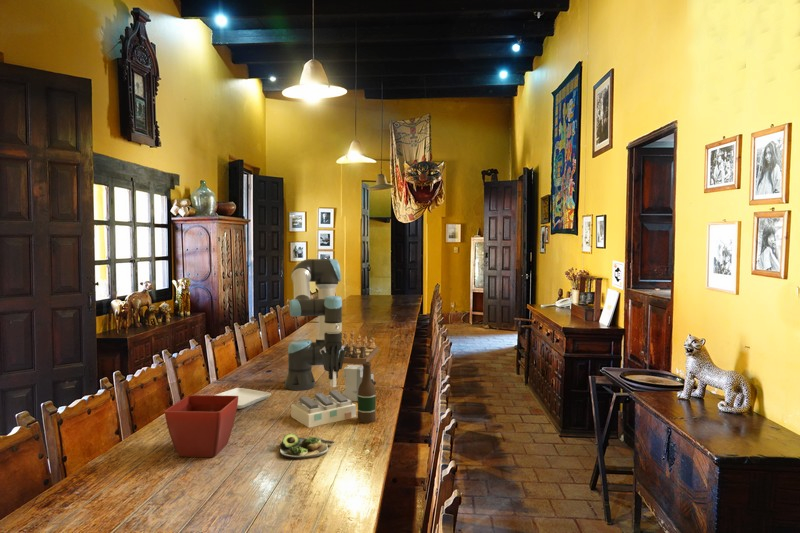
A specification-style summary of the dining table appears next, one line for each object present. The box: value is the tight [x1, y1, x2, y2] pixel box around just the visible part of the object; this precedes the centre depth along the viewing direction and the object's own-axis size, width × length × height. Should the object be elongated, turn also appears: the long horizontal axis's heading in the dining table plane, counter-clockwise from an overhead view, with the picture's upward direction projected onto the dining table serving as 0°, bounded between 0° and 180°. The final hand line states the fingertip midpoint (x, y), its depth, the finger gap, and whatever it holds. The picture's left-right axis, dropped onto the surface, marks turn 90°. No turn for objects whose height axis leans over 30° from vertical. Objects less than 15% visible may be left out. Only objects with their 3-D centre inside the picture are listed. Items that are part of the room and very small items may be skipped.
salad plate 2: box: [279, 433, 336, 460], centre depth 185 cm, size 19×18×5 cm
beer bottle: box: [357, 361, 377, 424], centre depth 215 cm, size 8×8×24 cm
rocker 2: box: [314, 391, 333, 406], centre depth 219 cm, size 10×3×2 cm, turn 37°
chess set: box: [341, 329, 380, 365], centre depth 337 cm, size 40×40×15 cm
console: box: [290, 394, 357, 428], centre depth 219 cm, size 16×22×6 cm
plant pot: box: [164, 394, 238, 458], centre depth 183 cm, size 19×19×17 cm
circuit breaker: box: [342, 364, 377, 402], centre depth 244 cm, size 8×14×15 cm, turn 78°
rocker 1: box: [299, 395, 318, 409], centre depth 215 cm, size 10×3×2 cm, turn 37°
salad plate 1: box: [215, 387, 272, 410], centre depth 239 cm, size 21×21×3 cm
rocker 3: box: [328, 389, 348, 403], centre depth 223 cm, size 10×3×2 cm, turn 37°
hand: (333, 386), depth 226 cm, fingers closed
